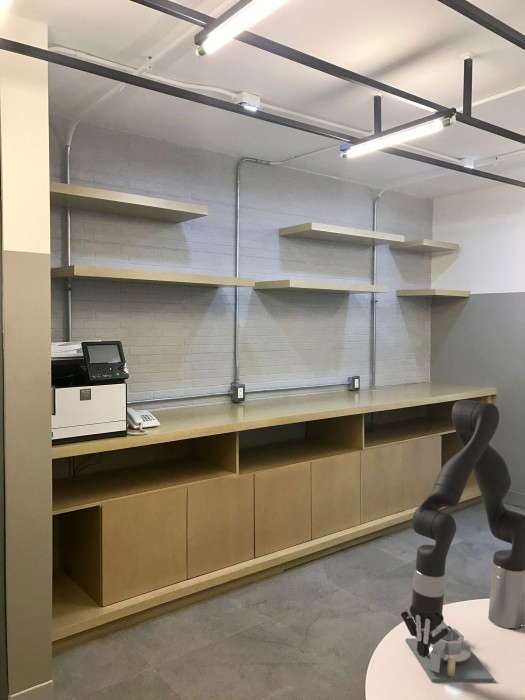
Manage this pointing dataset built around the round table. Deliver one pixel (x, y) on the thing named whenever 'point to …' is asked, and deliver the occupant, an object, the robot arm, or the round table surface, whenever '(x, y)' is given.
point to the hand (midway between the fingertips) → (422, 655)
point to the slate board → (460, 668)
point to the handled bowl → (448, 649)
